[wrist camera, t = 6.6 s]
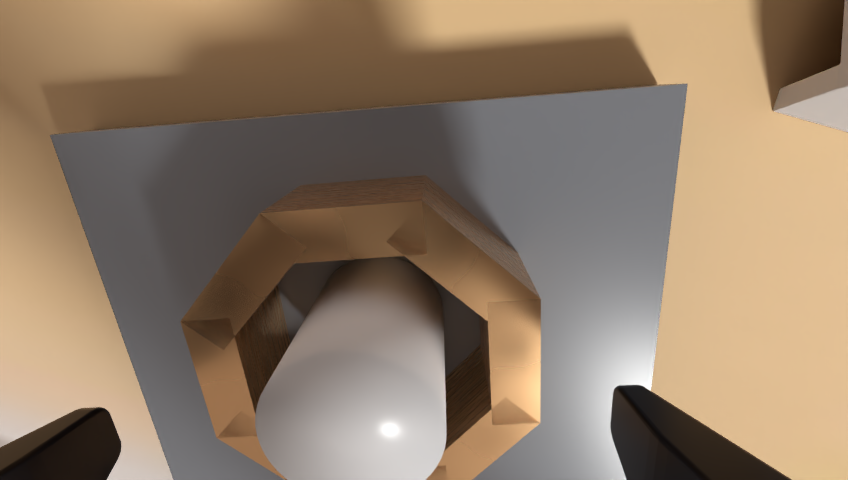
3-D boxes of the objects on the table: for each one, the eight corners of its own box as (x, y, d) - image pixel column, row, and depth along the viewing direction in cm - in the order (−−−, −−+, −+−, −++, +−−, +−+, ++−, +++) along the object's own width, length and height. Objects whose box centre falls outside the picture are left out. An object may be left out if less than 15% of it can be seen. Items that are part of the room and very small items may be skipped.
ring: (520, 418, 12) (539, 495, 10) (275, 429, 12) (238, 506, 10) (516, 167, 10) (541, 191, 7) (214, 192, 10) (148, 221, 8)
